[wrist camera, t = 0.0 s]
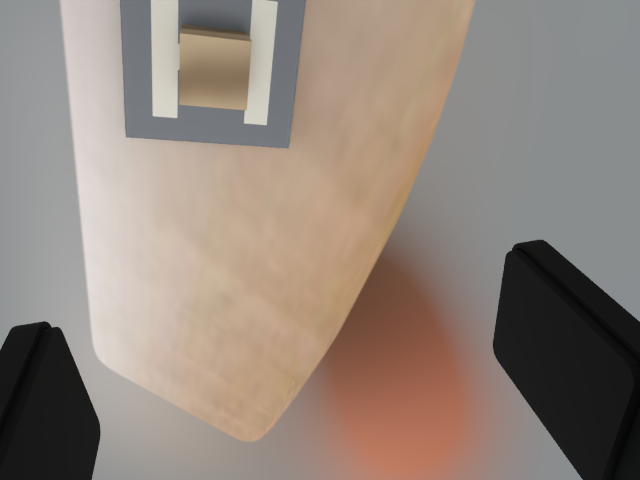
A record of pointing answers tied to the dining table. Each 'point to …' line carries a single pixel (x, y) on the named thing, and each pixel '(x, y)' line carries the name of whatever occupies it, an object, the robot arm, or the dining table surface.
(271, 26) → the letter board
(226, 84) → the oak block
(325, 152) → the dining table surface
